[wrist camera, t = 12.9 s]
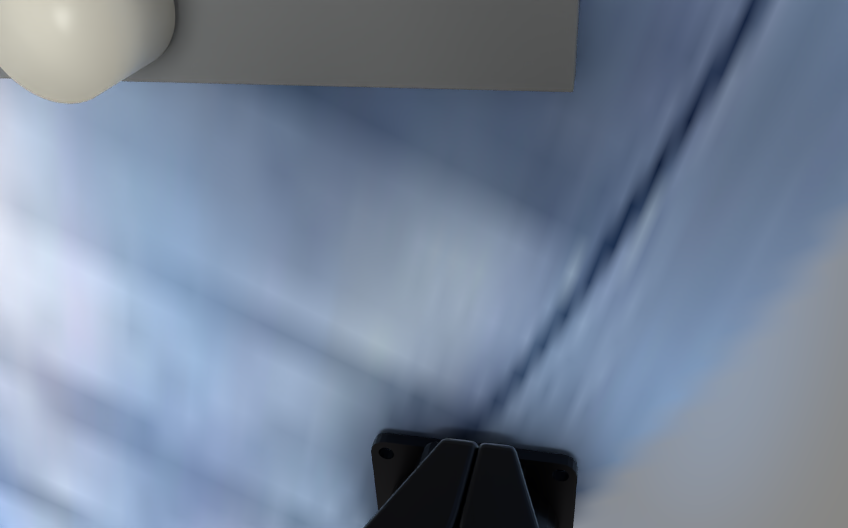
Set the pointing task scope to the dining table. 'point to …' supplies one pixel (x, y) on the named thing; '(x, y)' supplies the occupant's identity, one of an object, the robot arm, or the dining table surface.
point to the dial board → (372, 44)
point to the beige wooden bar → (80, 43)
